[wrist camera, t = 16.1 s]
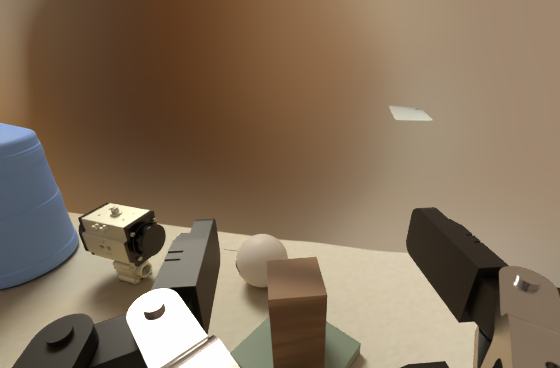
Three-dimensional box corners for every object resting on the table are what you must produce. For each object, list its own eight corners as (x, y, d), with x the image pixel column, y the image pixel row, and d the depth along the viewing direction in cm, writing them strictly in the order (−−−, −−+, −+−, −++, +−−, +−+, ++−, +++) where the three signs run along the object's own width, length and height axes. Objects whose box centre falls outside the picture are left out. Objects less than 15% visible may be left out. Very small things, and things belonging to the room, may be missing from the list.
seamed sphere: (298, 273, 43) (297, 232, 40) (269, 307, 38) (266, 263, 34) (246, 252, 48) (242, 214, 45) (215, 279, 43) (208, 238, 40)
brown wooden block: (324, 370, 28) (327, 294, 24) (274, 374, 28) (268, 299, 24) (315, 326, 33) (316, 256, 29) (271, 330, 33) (266, 260, 29)
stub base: (304, 436, 25) (304, 382, 22) (230, 363, 31) (221, 312, 28) (359, 352, 31) (365, 301, 28) (289, 306, 38) (288, 259, 34)
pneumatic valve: (119, 258, 48) (98, 194, 43) (176, 273, 44) (159, 205, 39) (89, 280, 43) (61, 212, 38) (150, 300, 39) (127, 226, 35)
